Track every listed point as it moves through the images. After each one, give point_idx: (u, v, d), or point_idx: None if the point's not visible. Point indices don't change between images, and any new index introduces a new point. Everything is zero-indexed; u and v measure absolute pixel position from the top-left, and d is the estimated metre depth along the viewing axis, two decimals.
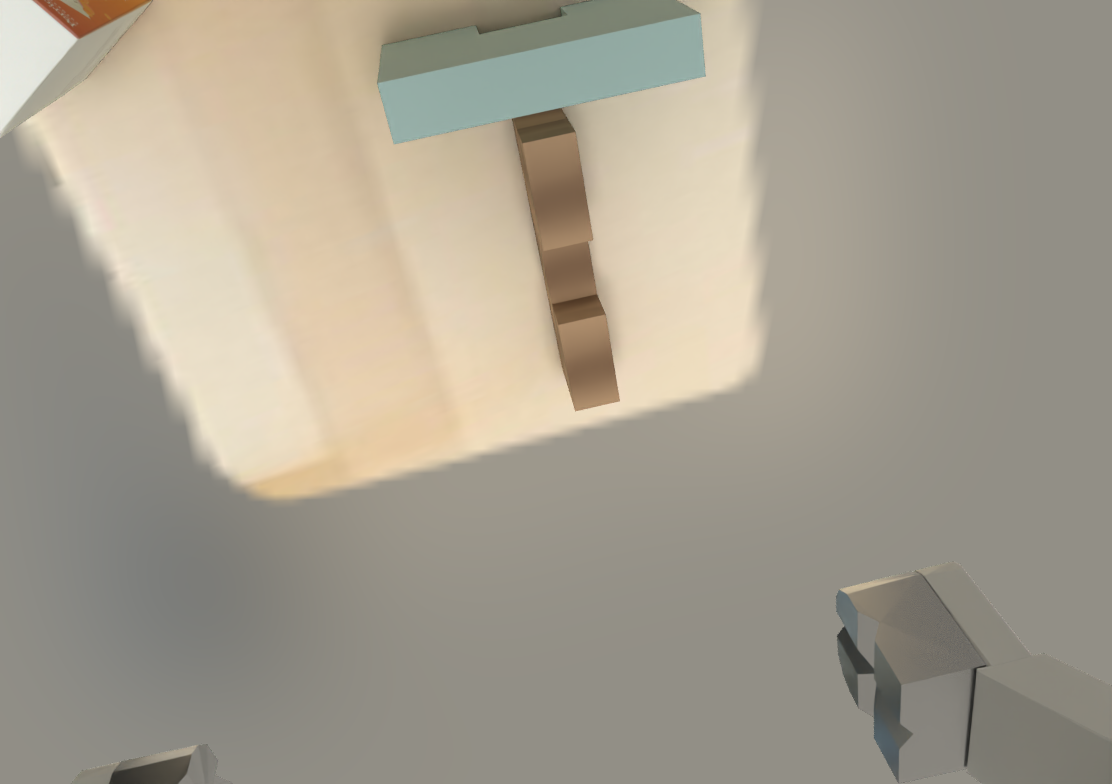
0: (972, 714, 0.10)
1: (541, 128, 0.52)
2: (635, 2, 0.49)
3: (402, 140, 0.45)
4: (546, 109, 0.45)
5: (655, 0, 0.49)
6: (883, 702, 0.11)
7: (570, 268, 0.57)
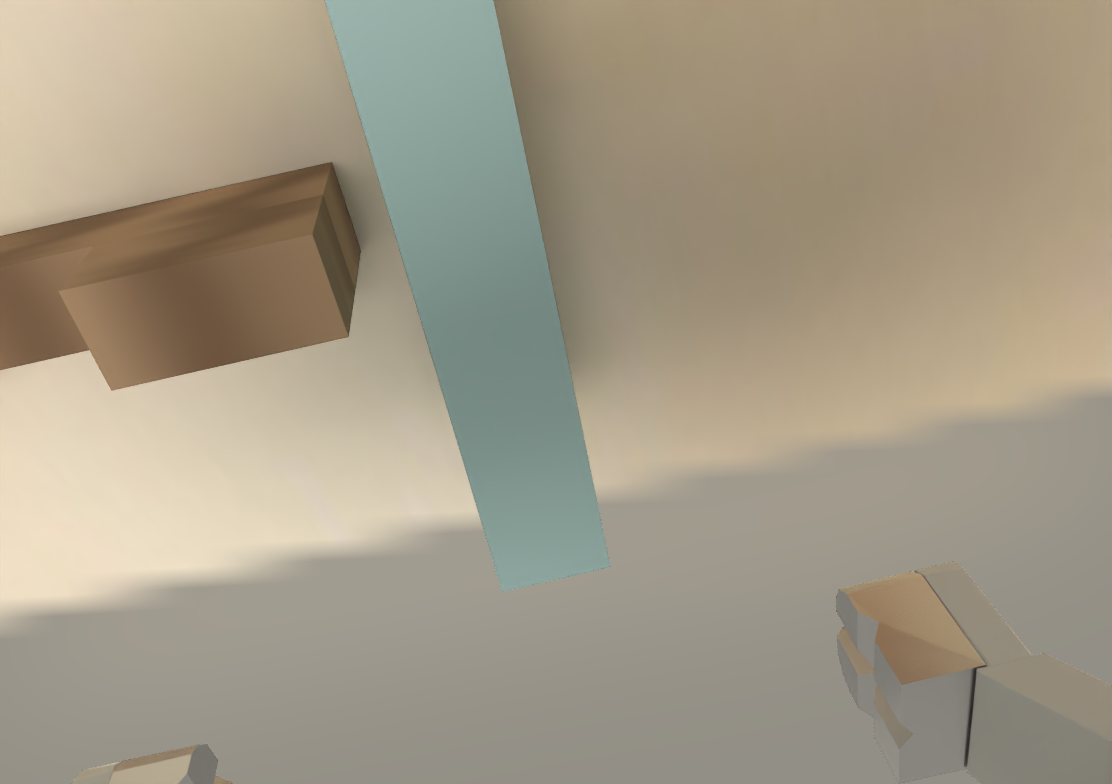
0: (973, 713, 0.10)
1: (335, 251, 0.25)
2: None
3: None
4: (426, 329, 0.20)
5: None
6: (883, 702, 0.11)
7: (24, 317, 0.26)
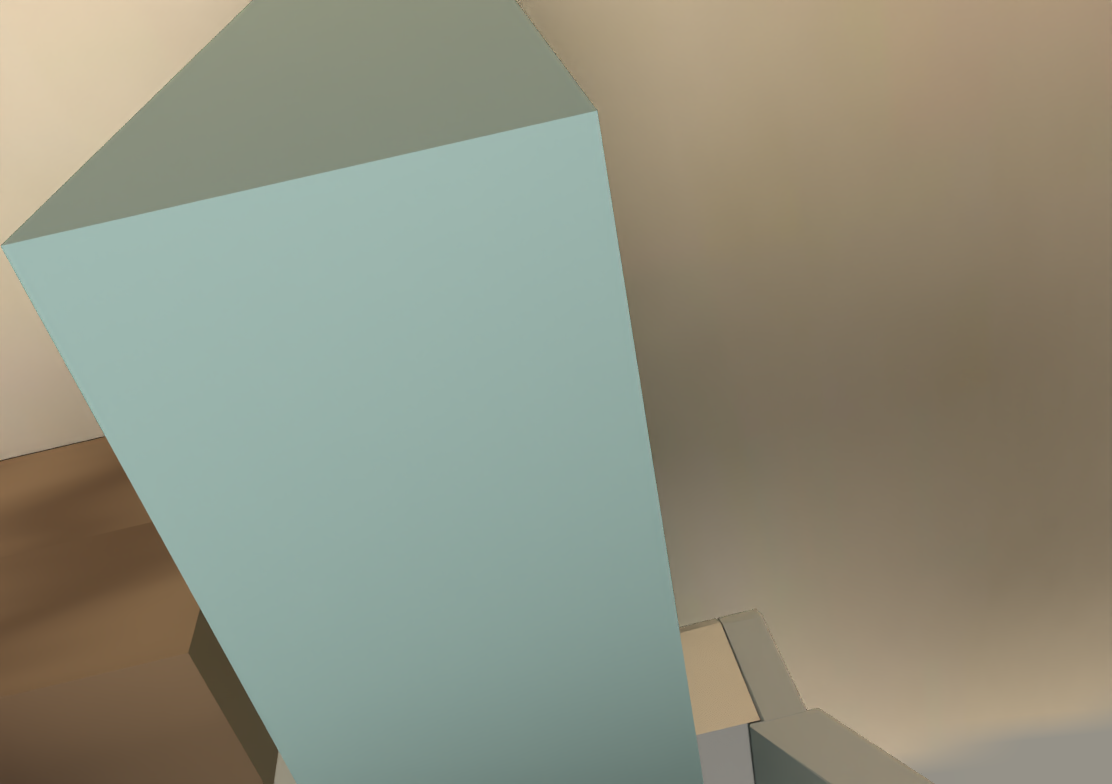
0: (754, 766, 0.10)
1: None
2: None
3: (62, 323, 0.05)
4: None
5: None
6: None
7: None
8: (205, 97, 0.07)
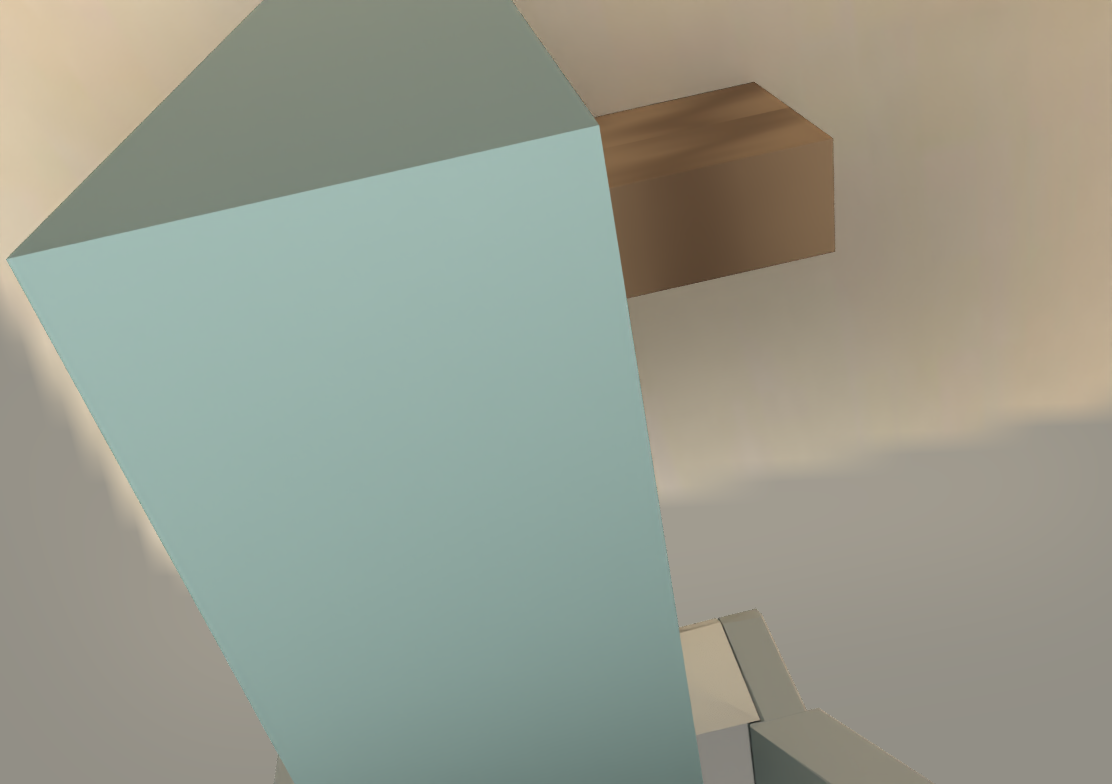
0: (754, 766, 0.10)
1: None
2: None
3: (67, 335, 0.05)
4: None
5: None
6: None
7: None
8: (209, 107, 0.07)
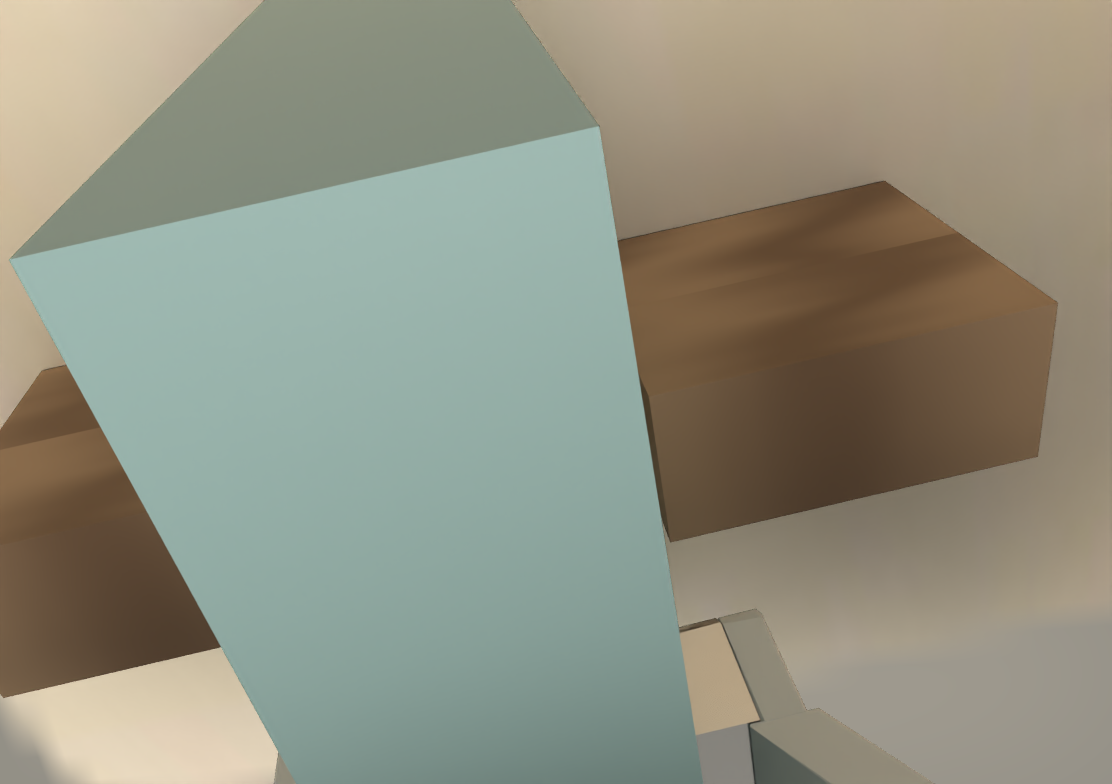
0: (754, 766, 0.10)
1: None
2: None
3: (70, 335, 0.05)
4: None
5: None
6: None
7: None
8: (210, 108, 0.07)
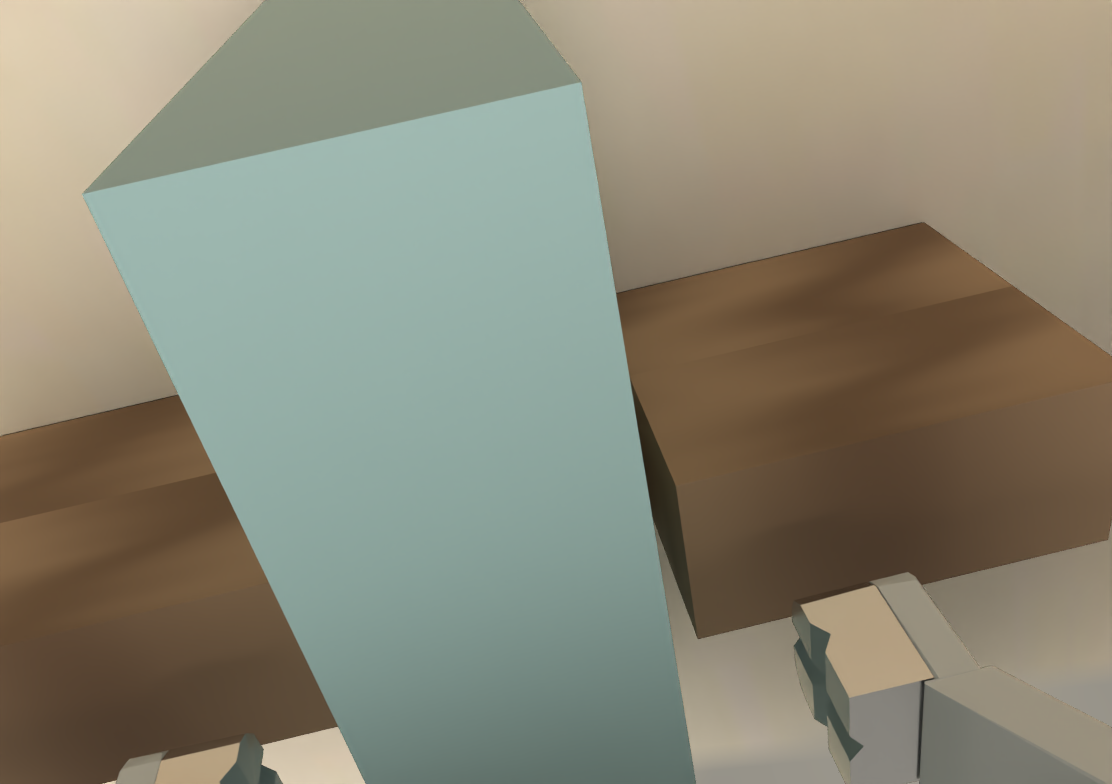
0: (922, 725, 0.10)
1: None
2: None
3: (130, 261, 0.06)
4: None
5: None
6: (836, 714, 0.11)
7: None
8: (239, 78, 0.08)
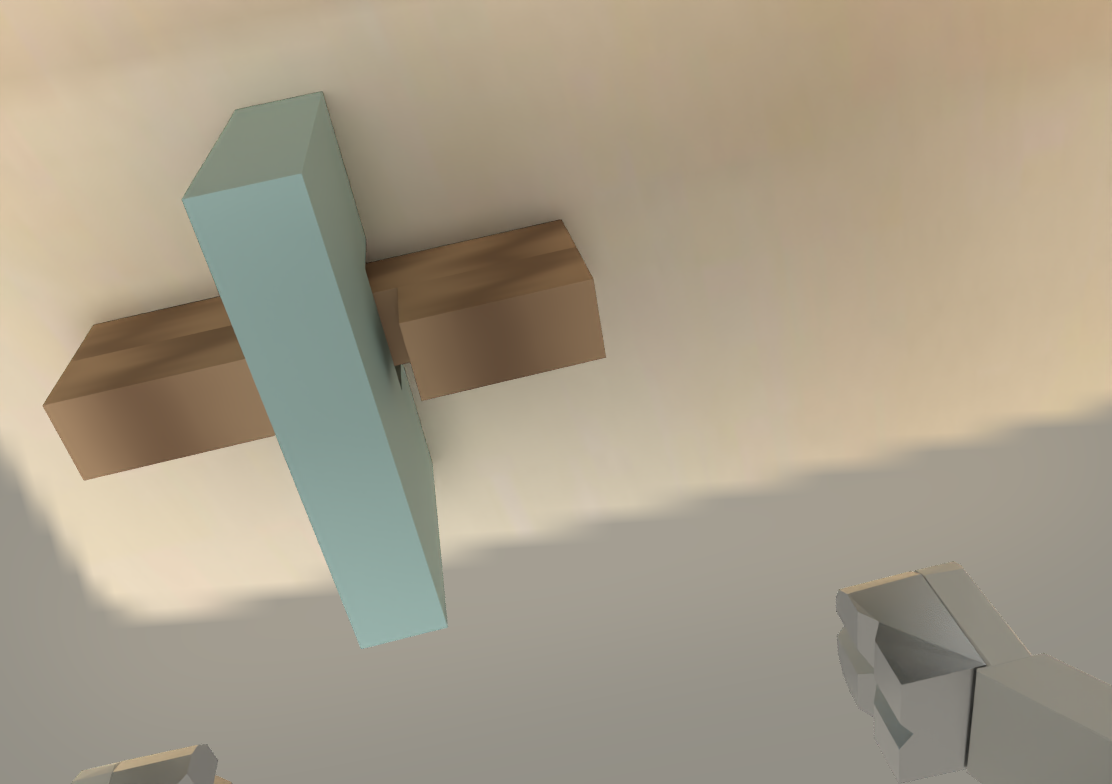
0: (972, 712, 0.10)
1: None
2: (426, 477, 0.35)
3: (192, 216, 0.23)
4: (285, 453, 0.26)
5: (433, 507, 0.35)
6: (883, 702, 0.11)
7: None
8: (218, 165, 0.25)
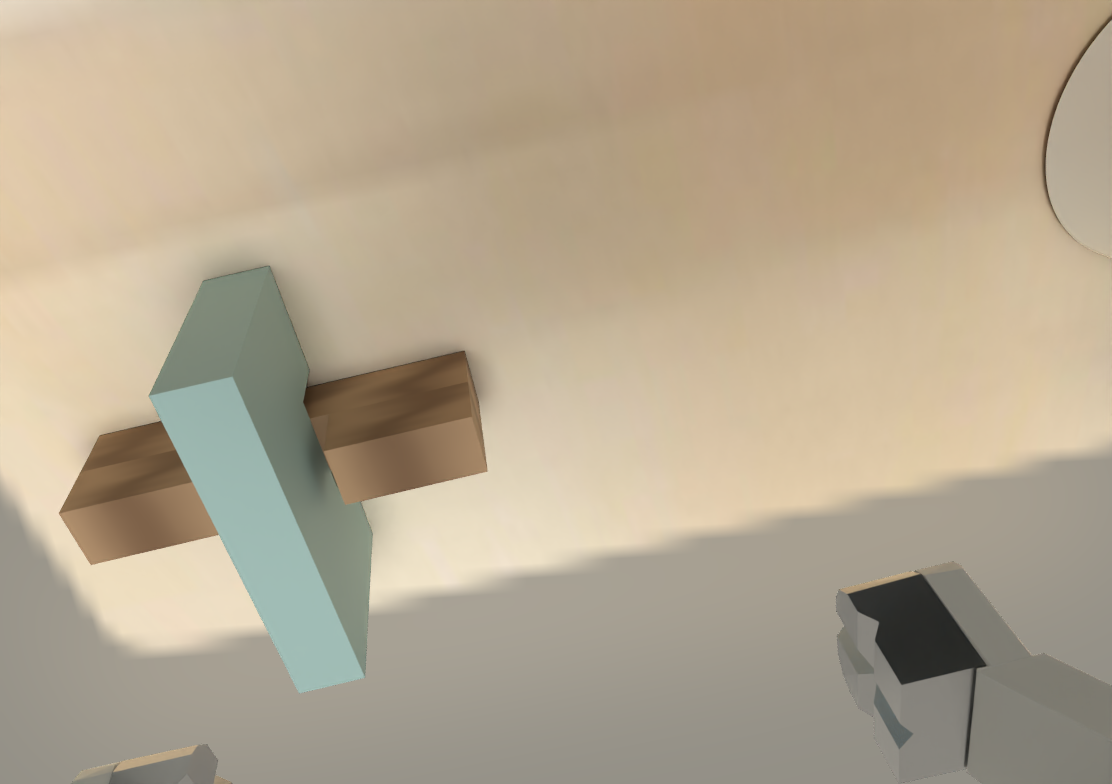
0: (972, 713, 0.10)
1: (476, 416, 0.41)
2: (359, 552, 0.45)
3: (156, 406, 0.32)
4: (232, 558, 0.36)
5: (364, 576, 0.45)
6: (883, 702, 0.11)
7: None
8: (179, 356, 0.34)
